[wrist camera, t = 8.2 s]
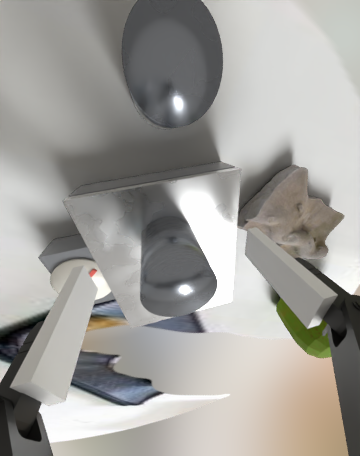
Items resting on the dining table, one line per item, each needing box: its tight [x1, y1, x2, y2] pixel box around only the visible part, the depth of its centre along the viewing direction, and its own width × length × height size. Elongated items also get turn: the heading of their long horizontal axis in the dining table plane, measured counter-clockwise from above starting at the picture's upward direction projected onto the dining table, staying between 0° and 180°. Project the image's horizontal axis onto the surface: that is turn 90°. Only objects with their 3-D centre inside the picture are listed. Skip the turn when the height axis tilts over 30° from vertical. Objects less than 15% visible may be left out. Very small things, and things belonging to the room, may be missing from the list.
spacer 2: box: [140, 216, 218, 317], centre depth 13 cm, size 5×5×6 cm
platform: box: [63, 167, 241, 328], centre depth 17 cm, size 14×18×1 cm
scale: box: [38, 162, 235, 304], centre depth 19 cm, size 20×18×4 cm
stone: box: [237, 165, 344, 259], centre depth 21 cm, size 15×10×4 cm, turn 54°
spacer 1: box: [122, 0, 223, 129], centre depth 10 cm, size 5×5×6 cm
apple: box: [277, 298, 332, 358], centre depth 28 cm, size 11×11×11 cm
